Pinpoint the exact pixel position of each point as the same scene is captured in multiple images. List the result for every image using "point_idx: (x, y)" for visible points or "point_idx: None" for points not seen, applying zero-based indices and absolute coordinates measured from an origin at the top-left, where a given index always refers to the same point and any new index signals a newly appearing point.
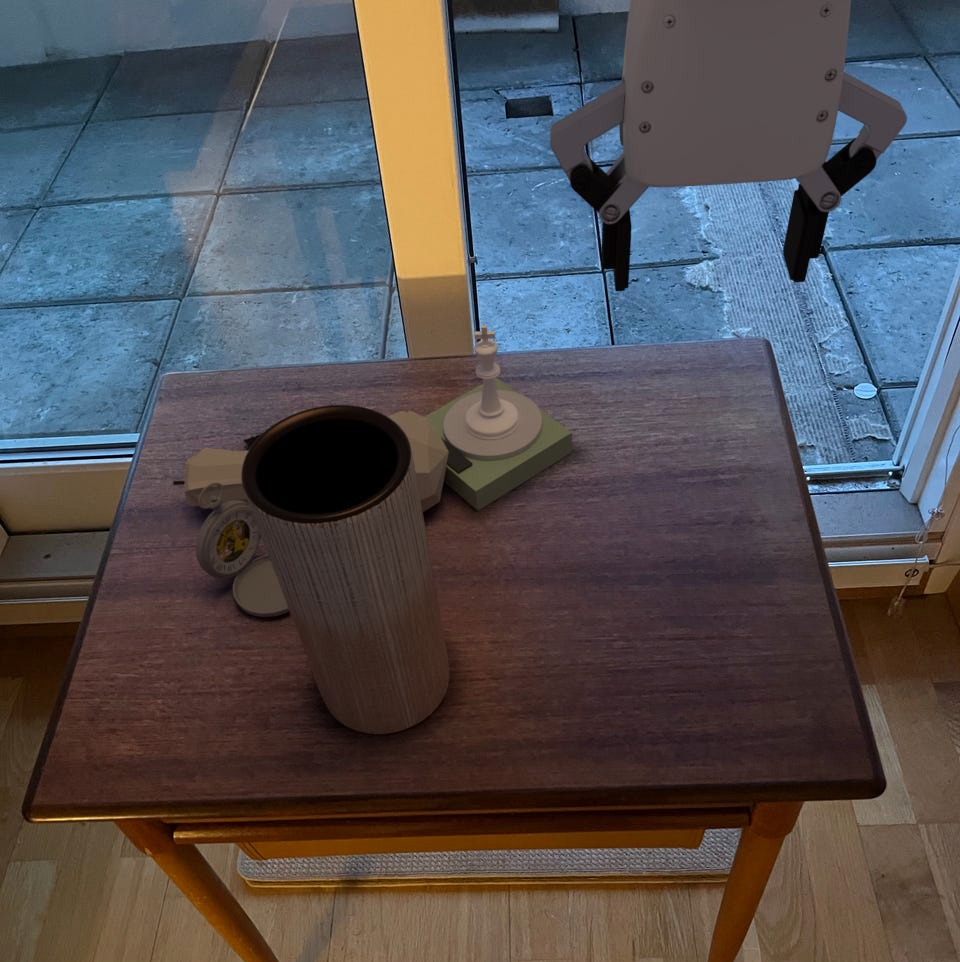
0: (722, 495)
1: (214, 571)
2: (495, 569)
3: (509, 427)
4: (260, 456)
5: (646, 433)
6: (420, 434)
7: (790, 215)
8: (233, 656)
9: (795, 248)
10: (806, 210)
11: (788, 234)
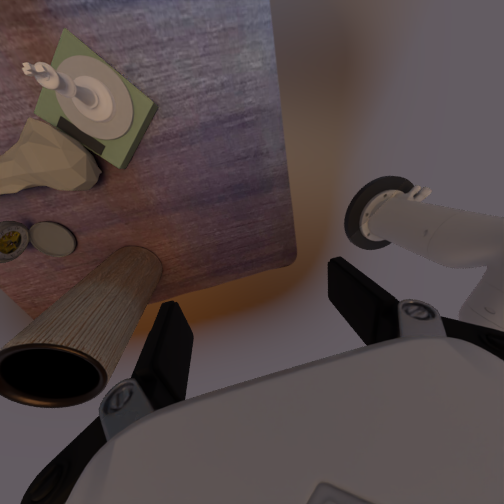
0: (247, 135)
1: (18, 255)
2: (153, 206)
3: (111, 112)
4: (4, 385)
5: (198, 79)
6: (59, 159)
7: (352, 283)
8: (67, 272)
9: (343, 310)
10: (375, 339)
11: (341, 279)
